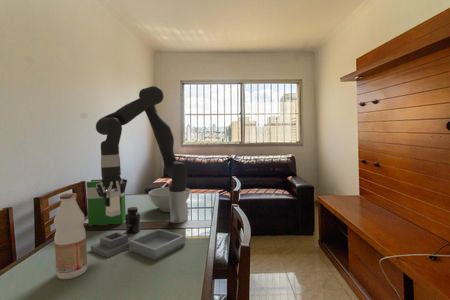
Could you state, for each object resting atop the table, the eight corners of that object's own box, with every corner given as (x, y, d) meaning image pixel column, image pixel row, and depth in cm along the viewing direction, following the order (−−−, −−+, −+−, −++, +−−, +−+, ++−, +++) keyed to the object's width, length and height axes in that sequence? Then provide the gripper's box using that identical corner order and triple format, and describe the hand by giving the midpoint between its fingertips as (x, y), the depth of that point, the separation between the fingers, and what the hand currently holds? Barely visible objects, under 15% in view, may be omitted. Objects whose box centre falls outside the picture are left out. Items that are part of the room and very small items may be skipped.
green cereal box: (88, 226, 137) (86, 182, 136) (93, 221, 145) (91, 179, 143) (122, 223, 140) (120, 180, 138) (125, 219, 147) (124, 178, 146)
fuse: (114, 212, 112) (113, 190, 111) (120, 214, 109) (119, 191, 109) (105, 215, 108) (104, 192, 108) (111, 216, 106) (110, 193, 105)
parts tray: (159, 236, 120) (159, 228, 120) (184, 244, 111) (184, 235, 111) (129, 250, 107) (128, 240, 107) (155, 260, 98) (155, 250, 97)
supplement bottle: (125, 234, 124) (124, 210, 123) (126, 230, 130) (125, 207, 130) (139, 233, 125) (139, 209, 125) (140, 228, 132) (139, 205, 131)
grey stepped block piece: (120, 239, 119) (120, 228, 118) (136, 244, 112) (136, 233, 112) (90, 250, 107) (90, 238, 107) (107, 257, 100) (106, 245, 100)
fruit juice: (60, 283, 83) (56, 199, 82) (53, 273, 89) (48, 194, 88) (91, 271, 90) (87, 193, 88) (82, 263, 96) (78, 190, 95)
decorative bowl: (187, 215, 153) (186, 195, 152) (143, 215, 153) (142, 196, 153) (193, 203, 180) (193, 186, 179) (156, 204, 180) (155, 187, 180)
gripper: (120, 163, 116) (122, 200, 117) (89, 166, 104) (91, 208, 105) (130, 163, 111) (132, 202, 112) (99, 167, 100) (101, 210, 101)
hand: (112, 204), depth 109 cm, fingers closed on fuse, 4 cm apart
